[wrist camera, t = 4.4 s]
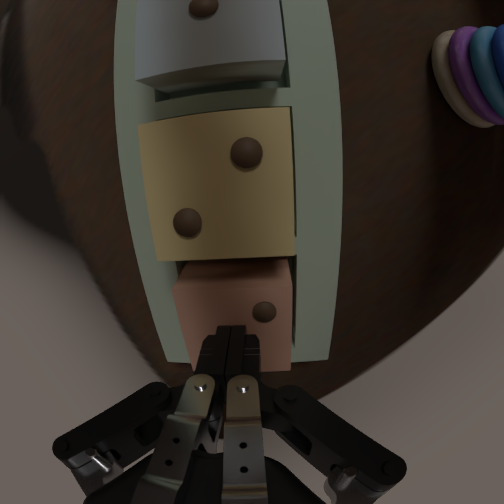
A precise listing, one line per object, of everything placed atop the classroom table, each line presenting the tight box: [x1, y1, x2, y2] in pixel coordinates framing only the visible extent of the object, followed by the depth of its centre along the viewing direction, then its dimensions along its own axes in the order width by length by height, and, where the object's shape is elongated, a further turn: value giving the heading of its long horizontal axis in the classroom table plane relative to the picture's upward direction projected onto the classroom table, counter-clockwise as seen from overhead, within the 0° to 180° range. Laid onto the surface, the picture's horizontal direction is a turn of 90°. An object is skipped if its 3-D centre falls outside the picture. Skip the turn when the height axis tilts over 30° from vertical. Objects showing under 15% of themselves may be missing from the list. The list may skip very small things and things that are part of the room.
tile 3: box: [172, 256, 293, 372], centre depth 16 cm, size 6×6×4 cm
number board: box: [114, 0, 343, 363], centre depth 15 cm, size 12×26×3 cm, turn 4°
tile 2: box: [137, 107, 295, 261], centre depth 12 cm, size 6×6×4 cm
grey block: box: [135, 0, 286, 93], centre depth 9 cm, size 6×6×4 cm
